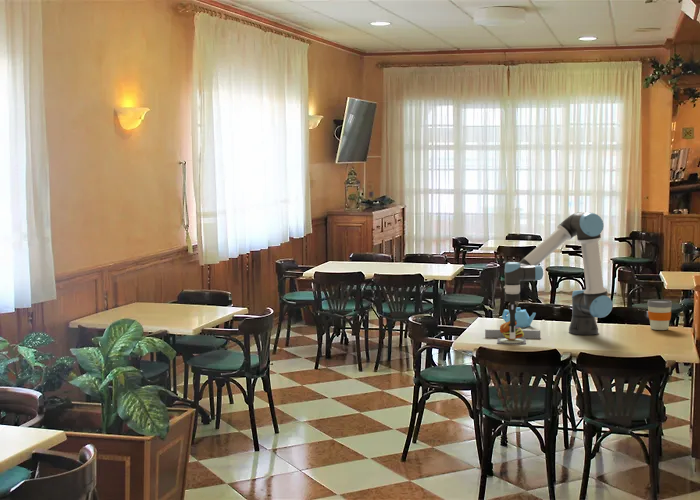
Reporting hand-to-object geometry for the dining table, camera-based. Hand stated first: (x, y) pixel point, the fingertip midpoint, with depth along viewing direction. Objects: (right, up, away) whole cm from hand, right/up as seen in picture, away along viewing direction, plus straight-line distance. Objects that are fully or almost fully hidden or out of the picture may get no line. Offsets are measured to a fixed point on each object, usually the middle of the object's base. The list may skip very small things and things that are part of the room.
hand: (512, 336), depth 418 cm
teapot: (+12, +1, +45) cm, 47 cm away
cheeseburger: (+1, -2, 0) cm, 2 cm away
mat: (0, -3, 0) cm, 3 cm away
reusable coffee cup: (+86, +1, +31) cm, 91 cm away
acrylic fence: (+2, -2, +11) cm, 11 cm away
